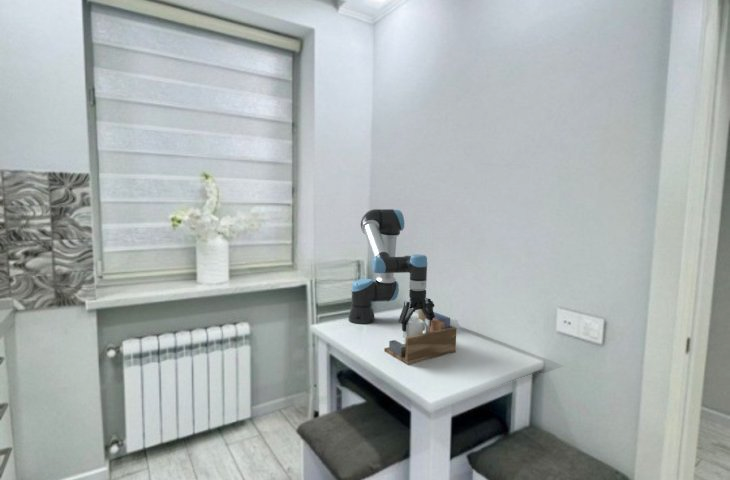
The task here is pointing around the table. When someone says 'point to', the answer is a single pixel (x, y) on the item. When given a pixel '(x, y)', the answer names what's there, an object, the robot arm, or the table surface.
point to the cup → (415, 327)
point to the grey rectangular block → (397, 348)
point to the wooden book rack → (427, 346)
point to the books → (439, 322)
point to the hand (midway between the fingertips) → (416, 335)
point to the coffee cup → (421, 314)
